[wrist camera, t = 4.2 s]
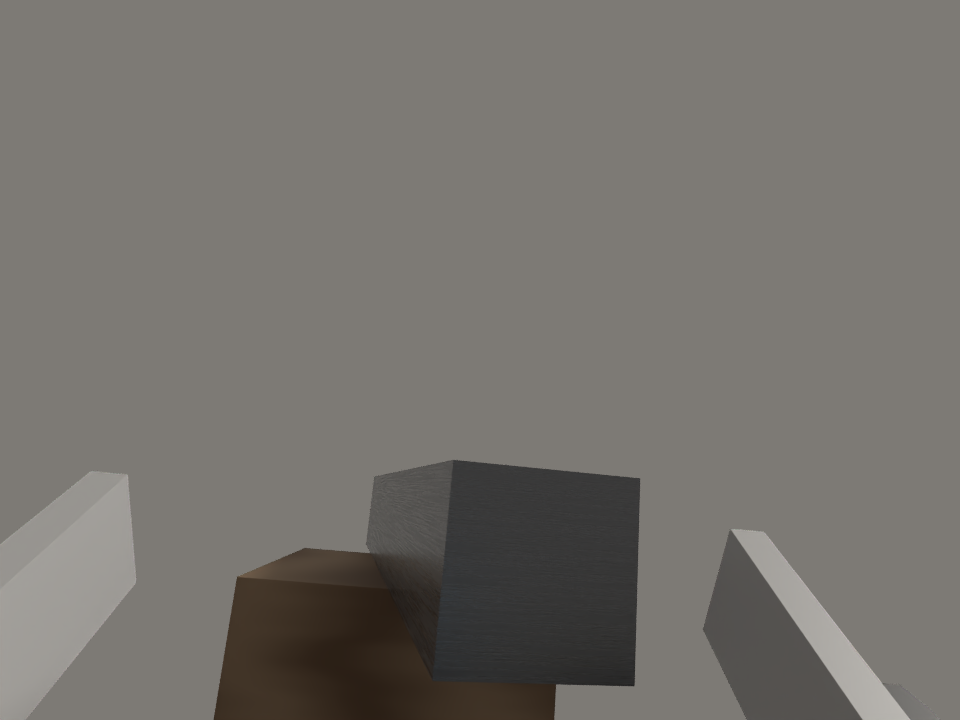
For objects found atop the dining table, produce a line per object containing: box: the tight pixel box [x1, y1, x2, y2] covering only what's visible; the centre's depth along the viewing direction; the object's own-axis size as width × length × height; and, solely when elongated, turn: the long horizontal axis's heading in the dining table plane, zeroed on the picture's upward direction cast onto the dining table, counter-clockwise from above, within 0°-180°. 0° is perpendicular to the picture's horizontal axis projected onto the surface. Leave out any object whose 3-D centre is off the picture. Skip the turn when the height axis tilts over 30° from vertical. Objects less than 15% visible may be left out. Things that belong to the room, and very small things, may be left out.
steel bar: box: [366, 460, 640, 686], centre depth 22 cm, size 4×24×4 cm, turn 13°
